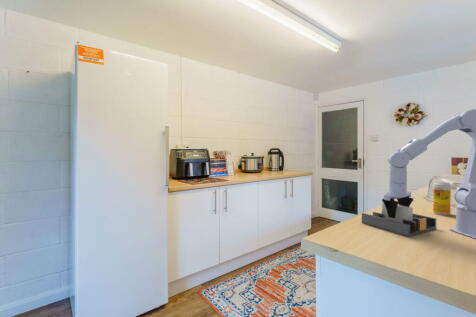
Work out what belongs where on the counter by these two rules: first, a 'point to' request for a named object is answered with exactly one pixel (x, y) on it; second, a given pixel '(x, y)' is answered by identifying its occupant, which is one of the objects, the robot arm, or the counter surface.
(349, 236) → the counter surface
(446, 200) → the beer can
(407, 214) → the white rectangular block
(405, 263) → the counter surface
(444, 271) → the counter surface
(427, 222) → the rack
